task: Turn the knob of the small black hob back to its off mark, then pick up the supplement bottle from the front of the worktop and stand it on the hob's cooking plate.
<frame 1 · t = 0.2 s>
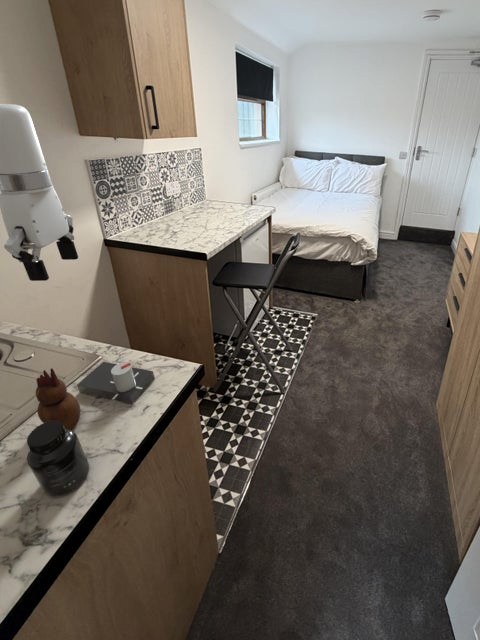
hand: (56, 268, 65), 30 cm above the counter, tool pointing down, fingers open, 9 cm apart
hob knob: (123, 376, 72), point 5 cm above the counter, hinge at 60.0°
wooden figurine: (66, 425, 67), on the counter
supplement bottle: (68, 479, 57), on the counter
hob: (118, 385, 76), on the counter
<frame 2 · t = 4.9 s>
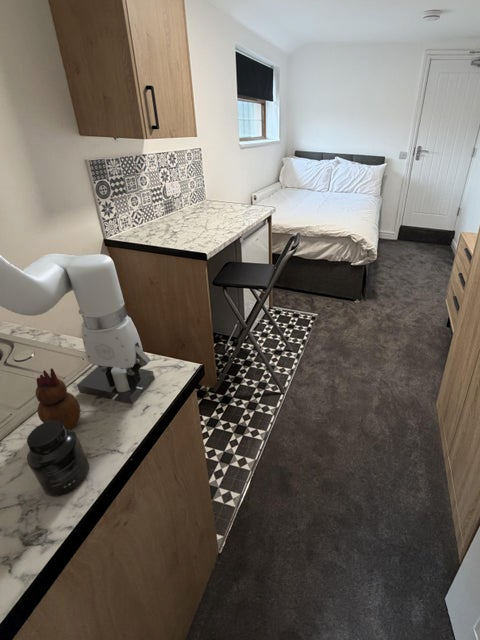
hand: (125, 382, 73), 3 cm above the counter, tool pointing down, fingers closed on hob knob, 4 cm apart
hob knob: (123, 376, 72), point 5 cm above the counter, hinge at 59.9°, touching gripper
everything else where it was.
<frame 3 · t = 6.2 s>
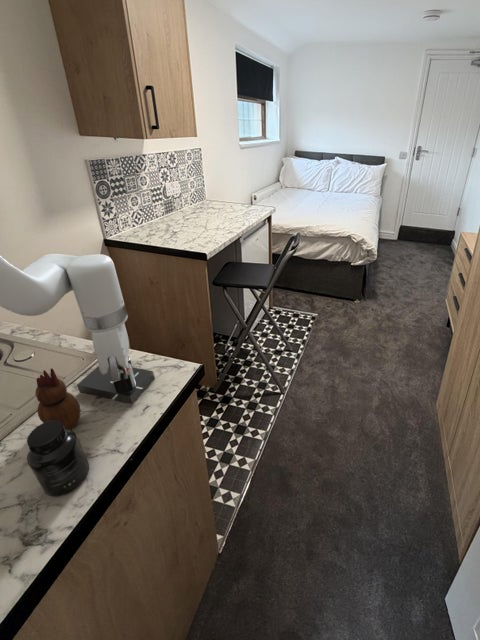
hand: (125, 382, 73), 3 cm above the counter, tool pointing down, fingers closed on hob knob, 4 cm apart
hob knob: (123, 376, 72), point 5 cm above the counter, hinge at 0.0°, touching gripper
everything else where it was.
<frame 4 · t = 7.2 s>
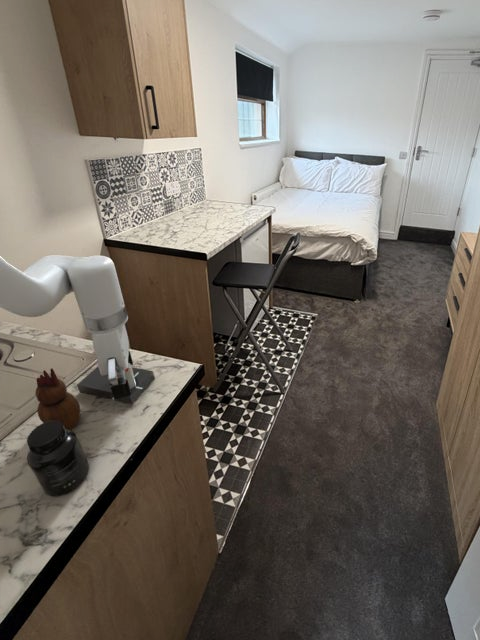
hand: (124, 380, 73), 4 cm above the counter, tool pointing down, fingers open, 9 cm apart
hob knob: (123, 376, 72), point 5 cm above the counter, hinge at -1.0°
everything else where it was.
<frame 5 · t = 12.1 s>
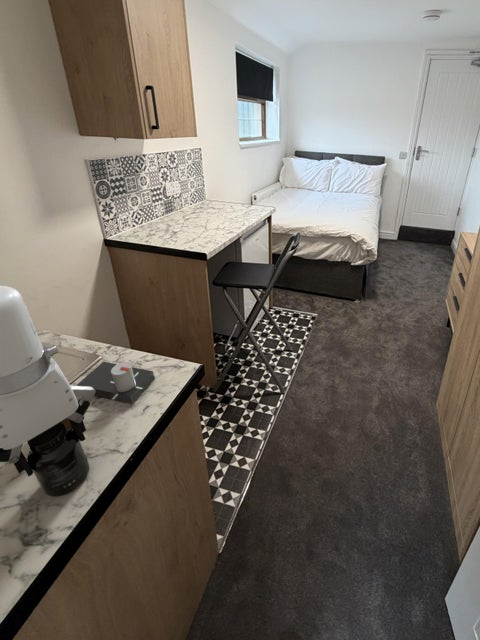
hand: (55, 451, 54), 7 cm above the counter, tool pointing down, fingers closed on supplement bottle, 6 cm apart
supplement bottle: (68, 479, 57), on the counter, touching gripper
everything else where it was.
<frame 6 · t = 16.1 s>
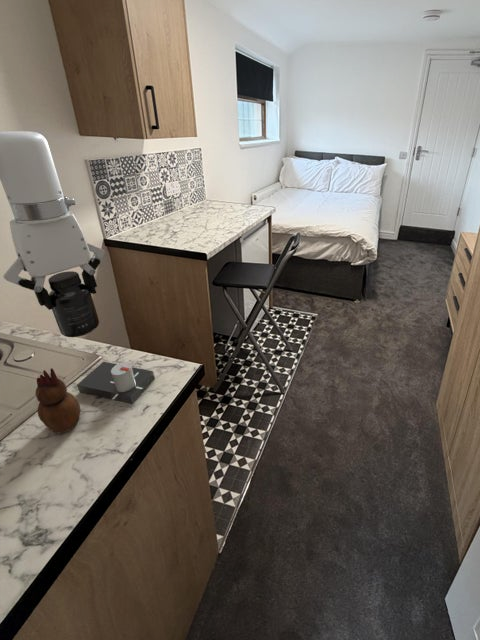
hand: (70, 298, 63), 25 cm above the counter, tool pointing down, fingers closed on supplement bottle, 6 cm apart
supplement bottle: (81, 329, 67), point 18 cm above the counter, touching gripper
everything else where it was.
when the fingers open (10 cm above the counter, at t = 20.3 s): supplement bottle stays where it is, resting on hob.
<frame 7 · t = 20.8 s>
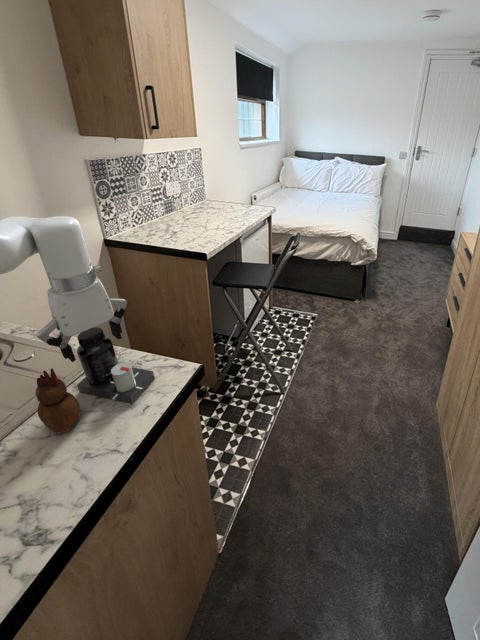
hand: (95, 347, 72), 11 cm above the counter, tool pointing down, fingers open, 9 cm apart
supplement bottle: (104, 376, 76), point 2 cm above the counter, touching hob
everything else where it was.
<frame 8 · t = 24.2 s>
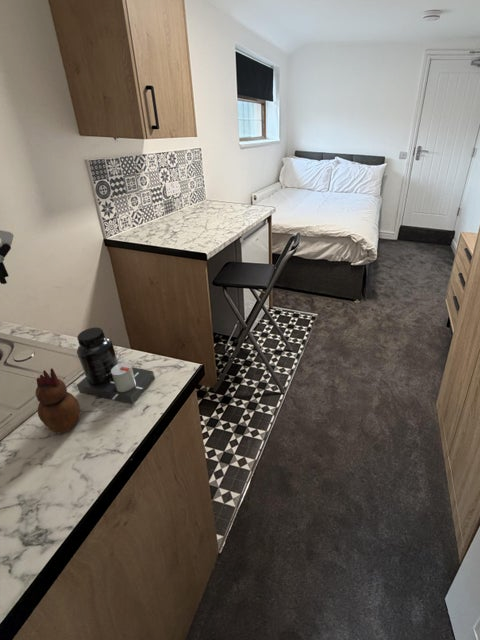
nothing on the counter moved.
at the end: hob knob at -1° (first picture: +60°); supplement bottle 0.1 cm from the target spot on the hob, point 2.4 cm above the hob's base; supplement bottle tilted 1° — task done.
